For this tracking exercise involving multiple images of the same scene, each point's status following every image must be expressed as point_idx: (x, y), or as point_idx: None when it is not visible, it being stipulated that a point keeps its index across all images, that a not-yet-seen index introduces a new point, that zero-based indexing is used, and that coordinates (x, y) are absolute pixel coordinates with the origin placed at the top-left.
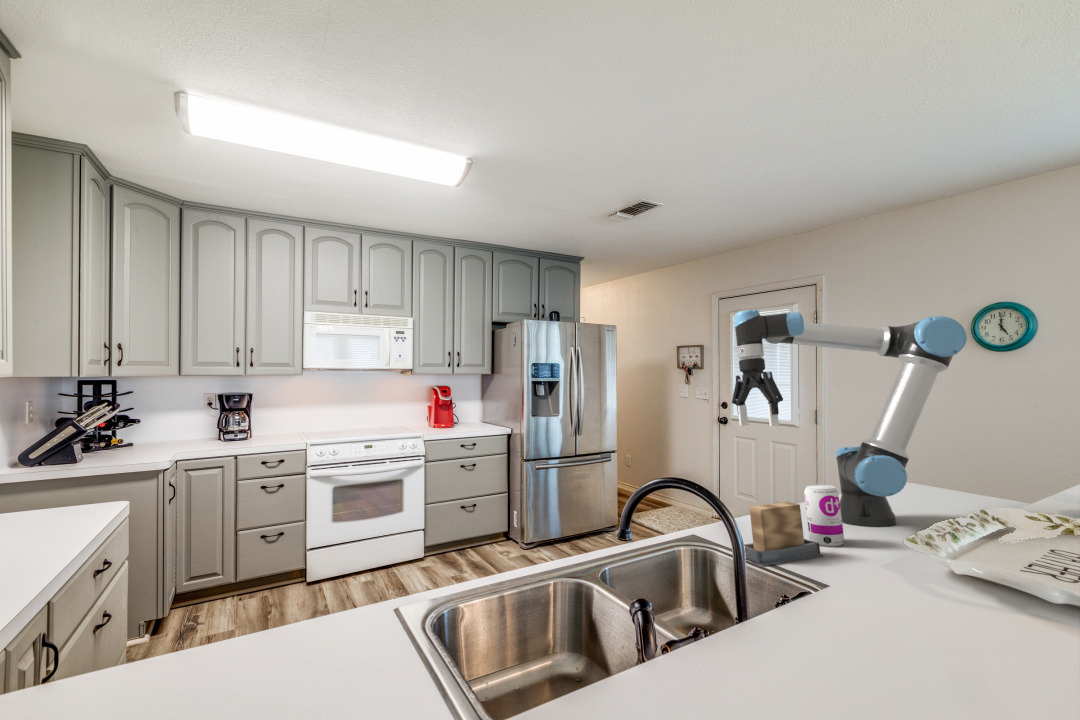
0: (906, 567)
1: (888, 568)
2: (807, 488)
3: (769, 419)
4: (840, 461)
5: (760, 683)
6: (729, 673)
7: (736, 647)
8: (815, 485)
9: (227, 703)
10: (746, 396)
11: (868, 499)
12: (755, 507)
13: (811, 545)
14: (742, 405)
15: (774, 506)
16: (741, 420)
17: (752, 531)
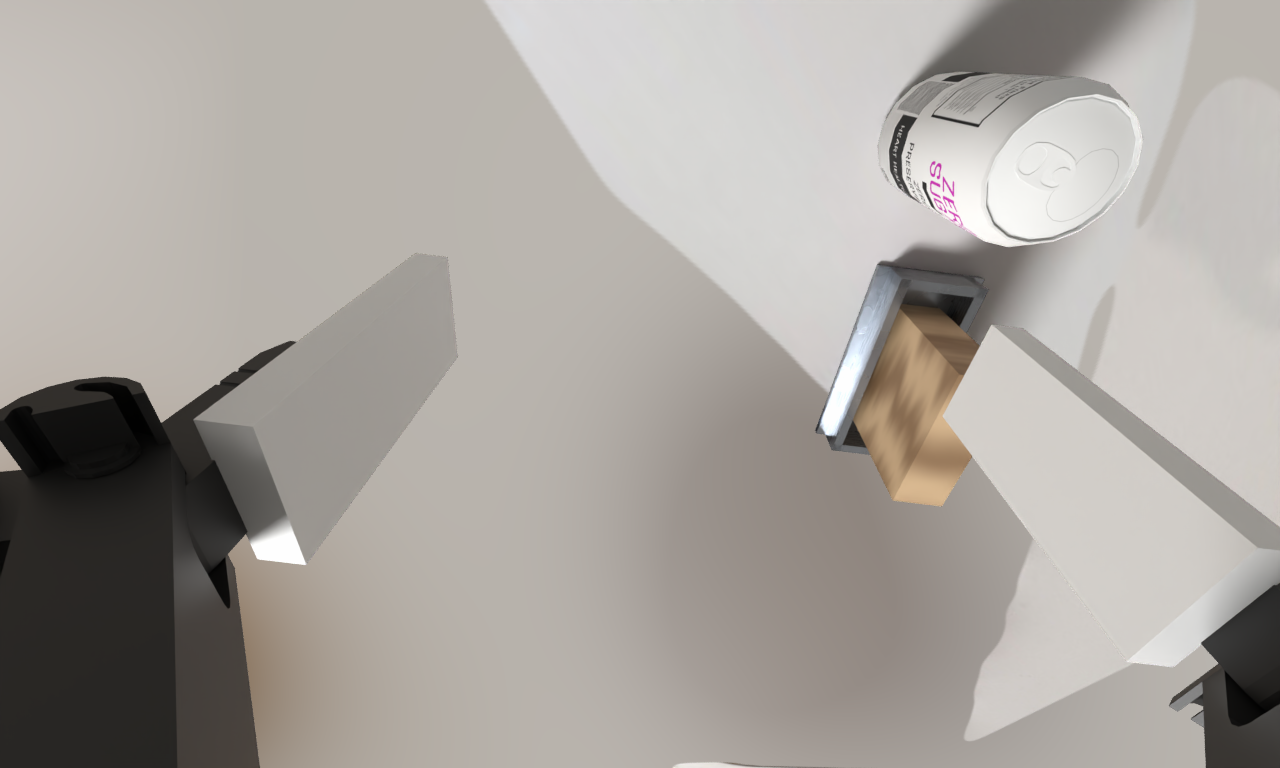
0: (1215, 183)
1: (1166, 233)
2: (1001, 235)
3: (986, 467)
4: None
5: (1083, 659)
6: (1049, 665)
7: (1029, 637)
8: (1011, 134)
9: None
10: (194, 707)
11: None
12: (912, 495)
13: (973, 314)
14: (215, 470)
15: (955, 454)
16: (431, 382)
17: (870, 451)
